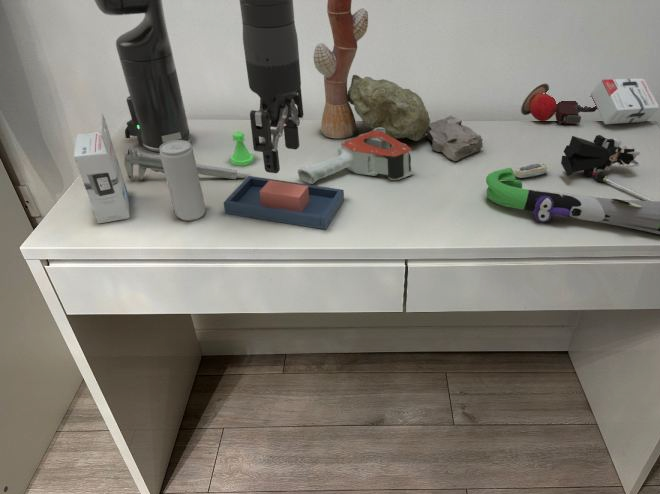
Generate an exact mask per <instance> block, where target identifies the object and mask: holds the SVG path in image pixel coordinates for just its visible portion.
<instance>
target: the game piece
mask: <svg viewBox="0 0 660 494" xmlns="http://www.w3.org/2000/svg"><path fill="white" fill-rule="evenodd" d="M245 135H246V134H245V132H242V131H235V132H233V133H232V140H233V141H235V147H234V150H233V151H234V152H233V154H232V155H231V157H230V162H231V163H232V164H233V165H235V166H240V167H242V166H244V167H245V166H248V165H250V164H252V163H253V162H254V160H255V157H254V156H255V155H254V154H252V153H251V152H249V149H248V148H247V147H246V145H245V142H244V141H245V137H246V136H245Z"/></svg>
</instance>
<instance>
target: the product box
mask: <svg viewBox="0 0 660 494" xmlns="http://www.w3.org/2000/svg"><path fill="white" fill-rule="evenodd" d="M73 159H74V162H75V164H76V168H77V170H78V172H79V176H80V178H81V180H82V183H83V186H84V189H85V191H86V194H87V197H88V199H89V202H90V204H91V208H92V210H93V213H94V215H95V218H96V221H97V223H98V224H103V223H110V222H116V221H121V220H127V219H130V218H131V215H130V214H131V213H130V199H129V198H130V197H129V196H130V195H129V192H128V188H127V186H126V182H125V178H124V175H123V172H122V169H121V166H120V163H119V159H118V157H117V154H116V150H115V147H114V144H113V139H112V137H111V134H110V130H109V127H108V124H107V121H106V118H105V115H104V113H102V112H101V118H100V131H96V132H87V133H77V134H76V136H75V143H74V152H73Z"/></svg>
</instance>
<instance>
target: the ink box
mask: <svg viewBox="0 0 660 494" xmlns="http://www.w3.org/2000/svg"><path fill="white" fill-rule="evenodd" d="M642 78H643V77H642ZM642 78H641V77H640V78H639V77H637V78H610V79H608V78H605V79H602V80H601V81H599V83H598V85H597V86H595V88H594V89H593V90H592V92H591V93H590V97H592V99H593V101H594V103H595V105H596V107H597V109H596V110H597V111H598V113H599V115H600V117H601V120H602V122H603V123H604V125H613V124H615V125H616V124H629V123H630V124H631V123H645V122H648V120H649V119H650V118H651V117H652V116H653V115H654V114H655V113H656V112H657V111H658V110H659V109H660V106H659V104H658V102H657V100H656V99H655V97H654V94H653V92H652V91H651V89H650V87H649V85H648V83H647V81H646V79H645V78H644V79H642Z"/></svg>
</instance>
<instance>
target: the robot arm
mask: <svg viewBox="0 0 660 494" xmlns="http://www.w3.org/2000/svg"><path fill="white" fill-rule="evenodd" d="M94 2H95V4H96V7H97V8H98V10H99V11H100V12H102V13H103V14H104V15H107V16H118V17H119V16H129V15H130V16H131V15H141V14H144V17H143V19H142V20H141V21H140V23H139V24H138V25H136V26H134V28H132V29H130V30H128V31H126V32H125V33H123V34H121V35H119V36H118V37H117V39H116V40H115V47H116V51H117V55H118V58H119V61H120V62H119V63H120V66H121V69H122V74H123V76H124V80H125V83H126V87H127V90H128V94H129V96H127V97H126V104H127V108H128V111H129V114H130V118H131V119H130V120H128V121H126V128H125V130H124V138H125V139H131V137H135V138H136V139H137V143H138V146H140V147H143V148H144V149H146V150H147V151H151V152H157V153H160V149H159V148H160V146H161V145H162V144H163V143H166V142H168V141H173V140H184V141H188V142H189V143H190V144H191V142H192V140H193V139H192V134H191V133H190V127H189V123H188V118H187V114H186V109H185V104H184V99H183V95H182V90H181V85H180V82H179V77H178V72H177V68H176V64H175V59H174V54H173V49H172V46H171V41H170V37H169V32H168V27H167V23H166V17H165V11H164V7H163V6H164V4H163V0H94ZM239 6H240V14H241V22H242V44H243V51H244V59H245V66H246V67H245V68H246V74H247V80H248V87H249V90H250V91H251V92H253V93H254V94H256V95H257V96H258V97H259V109H258V110H252V109H251V110H250V111H249V120H250V129H251V137H252V144H253V145H252V146H253V151H254V152H259V153H260V152H261V153H262V158H263V165H264V166H263V167H264V171H265V172H266V173H269V174H270V173H271V174H278V173H279V172H280V170H281V168H280V159H279V150H278V146H279V140H280V138H282V137H283V135H284V145H285V148H286V149H288V150H298V149H299V148H300V137H299V136H300V135H299V126H300V124H301V119H303V118H304V107H303V106H304V105H303V95H302V87H301V86H302V79H301V66H300V64H301V63H300V53H299V39H298V33H297V28H296V22H295V11H294V10H295V9H294V0H239Z"/></svg>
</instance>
